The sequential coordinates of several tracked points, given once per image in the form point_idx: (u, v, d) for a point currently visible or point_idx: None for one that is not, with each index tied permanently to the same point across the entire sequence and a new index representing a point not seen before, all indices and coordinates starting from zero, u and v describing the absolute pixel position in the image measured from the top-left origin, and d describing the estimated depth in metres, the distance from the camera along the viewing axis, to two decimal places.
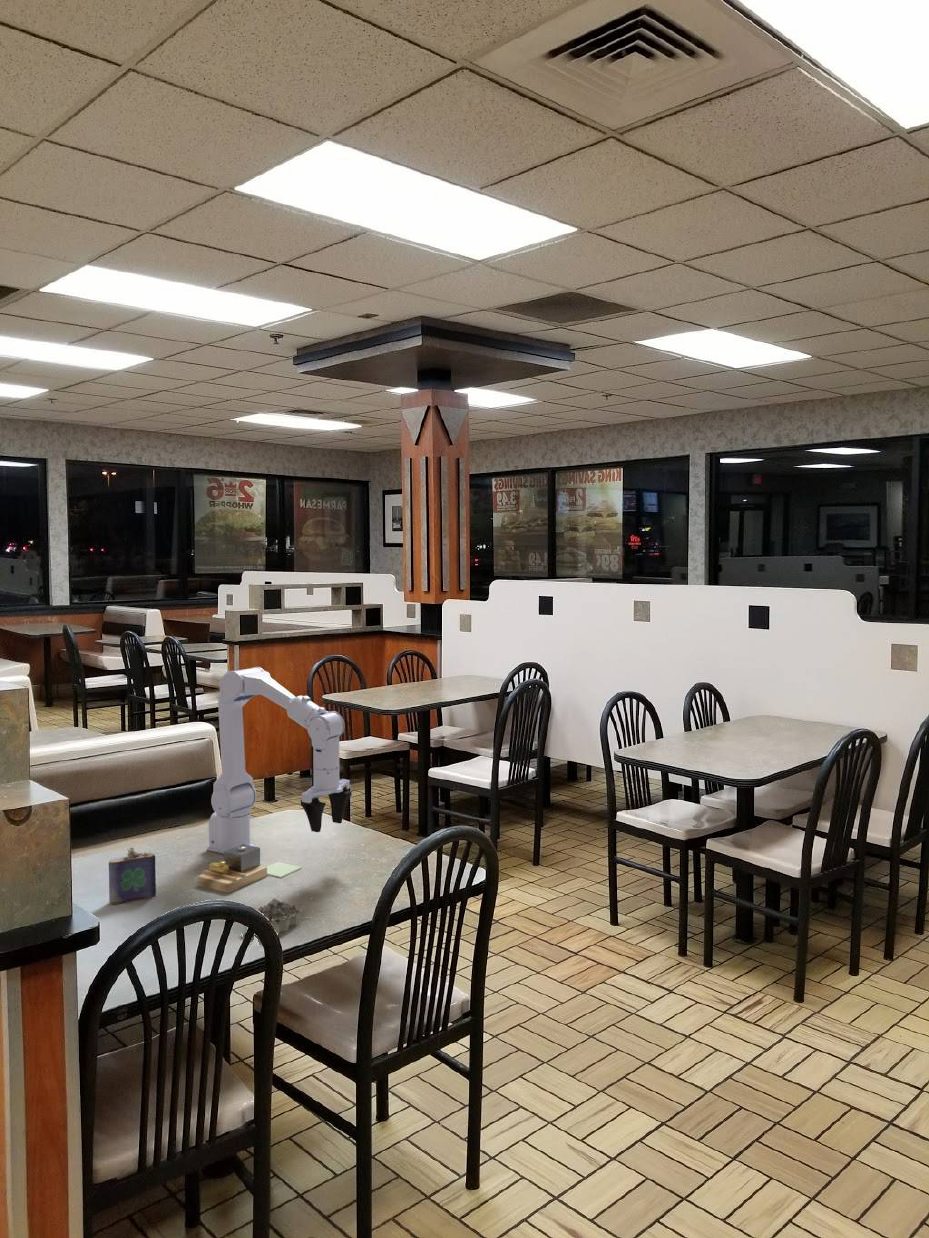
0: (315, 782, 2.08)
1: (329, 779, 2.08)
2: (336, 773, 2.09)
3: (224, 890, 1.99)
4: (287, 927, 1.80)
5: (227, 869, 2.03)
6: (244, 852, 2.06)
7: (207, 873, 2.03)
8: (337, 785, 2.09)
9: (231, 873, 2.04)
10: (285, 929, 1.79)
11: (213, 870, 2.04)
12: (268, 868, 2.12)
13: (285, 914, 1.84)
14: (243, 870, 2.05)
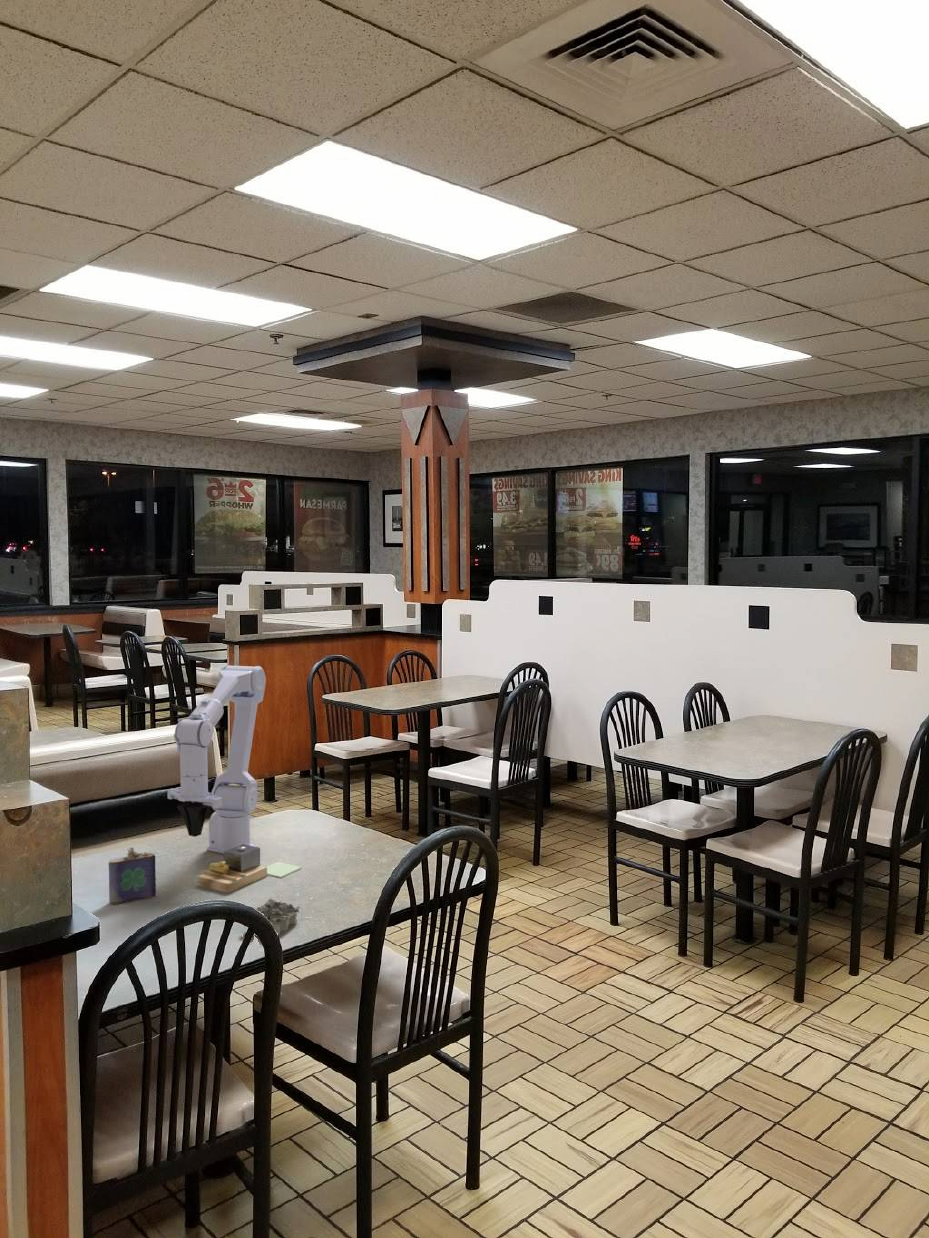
0: None
1: None
2: (184, 781, 2.03)
3: (224, 890, 1.99)
4: (287, 926, 1.80)
5: (227, 869, 2.03)
6: (244, 852, 2.06)
7: (207, 873, 2.03)
8: (185, 794, 2.03)
9: (231, 873, 2.04)
10: (285, 928, 1.80)
11: (213, 870, 2.04)
12: (268, 868, 2.12)
13: (282, 914, 1.85)
14: (243, 870, 2.05)
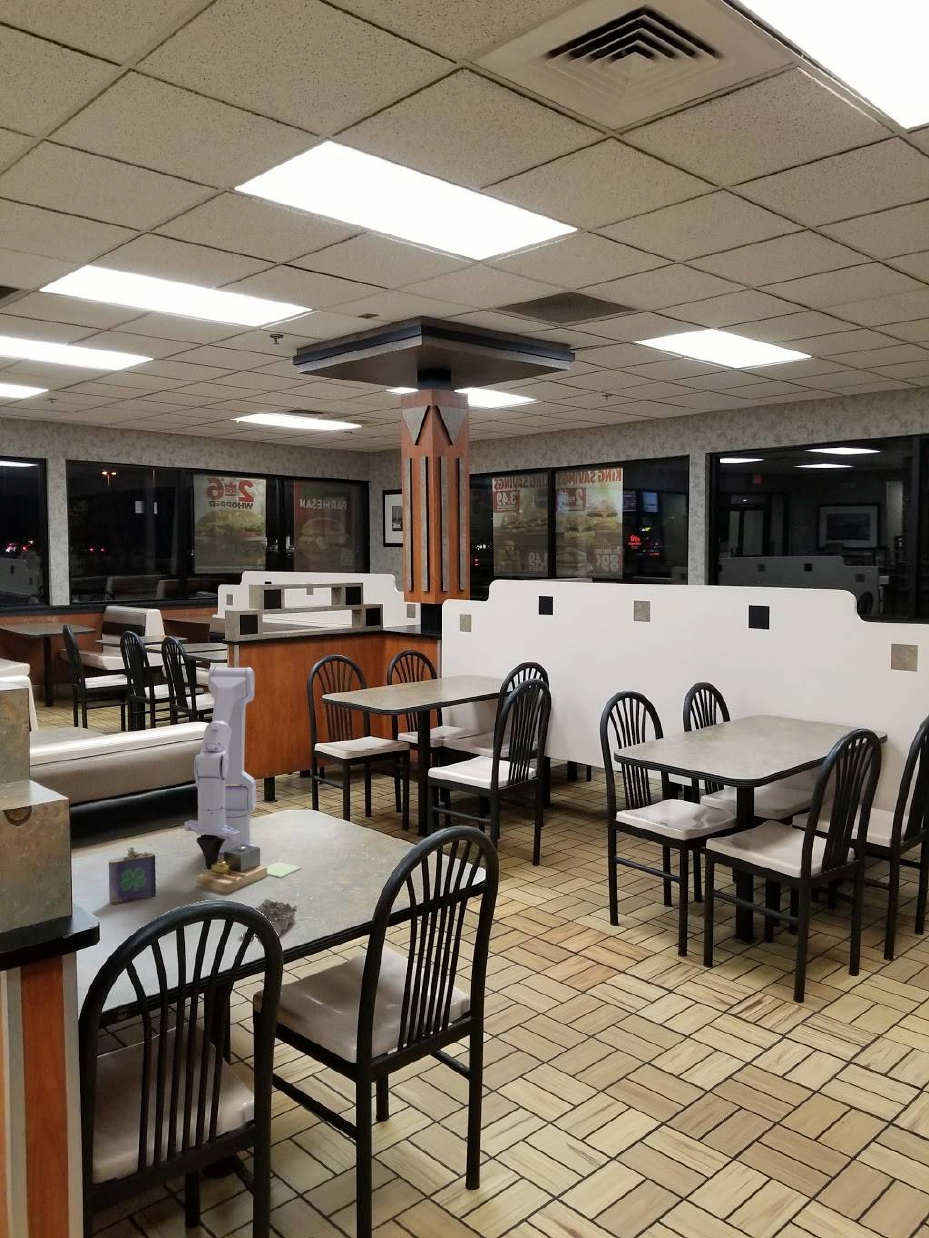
0: None
1: (198, 817, 2.03)
2: (201, 814, 2.01)
3: (224, 890, 1.99)
4: (286, 926, 1.80)
5: (227, 869, 2.03)
6: (244, 852, 2.06)
7: (207, 873, 2.03)
8: (203, 827, 2.01)
9: (231, 873, 2.04)
10: (285, 928, 1.80)
11: (213, 870, 2.03)
12: (268, 868, 2.12)
13: None
14: (243, 870, 2.05)
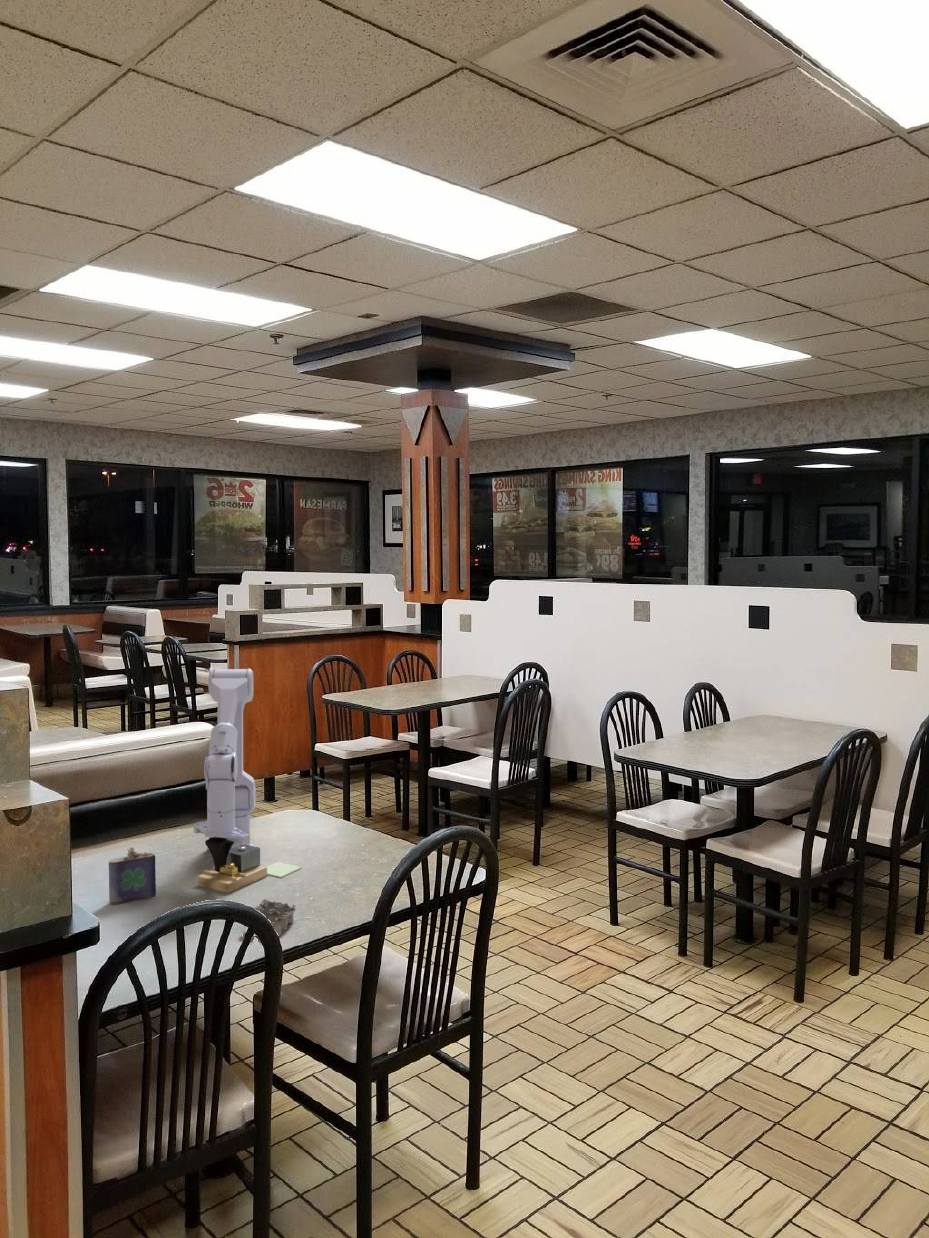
0: None
1: (207, 819, 2.01)
2: (211, 817, 2.00)
3: (224, 890, 1.99)
4: (286, 925, 1.80)
5: (236, 872, 2.02)
6: (244, 852, 2.06)
7: (207, 873, 2.03)
8: (212, 830, 2.00)
9: None
10: (284, 927, 1.80)
11: (222, 872, 2.02)
12: (268, 868, 2.12)
13: None
14: (243, 870, 2.05)
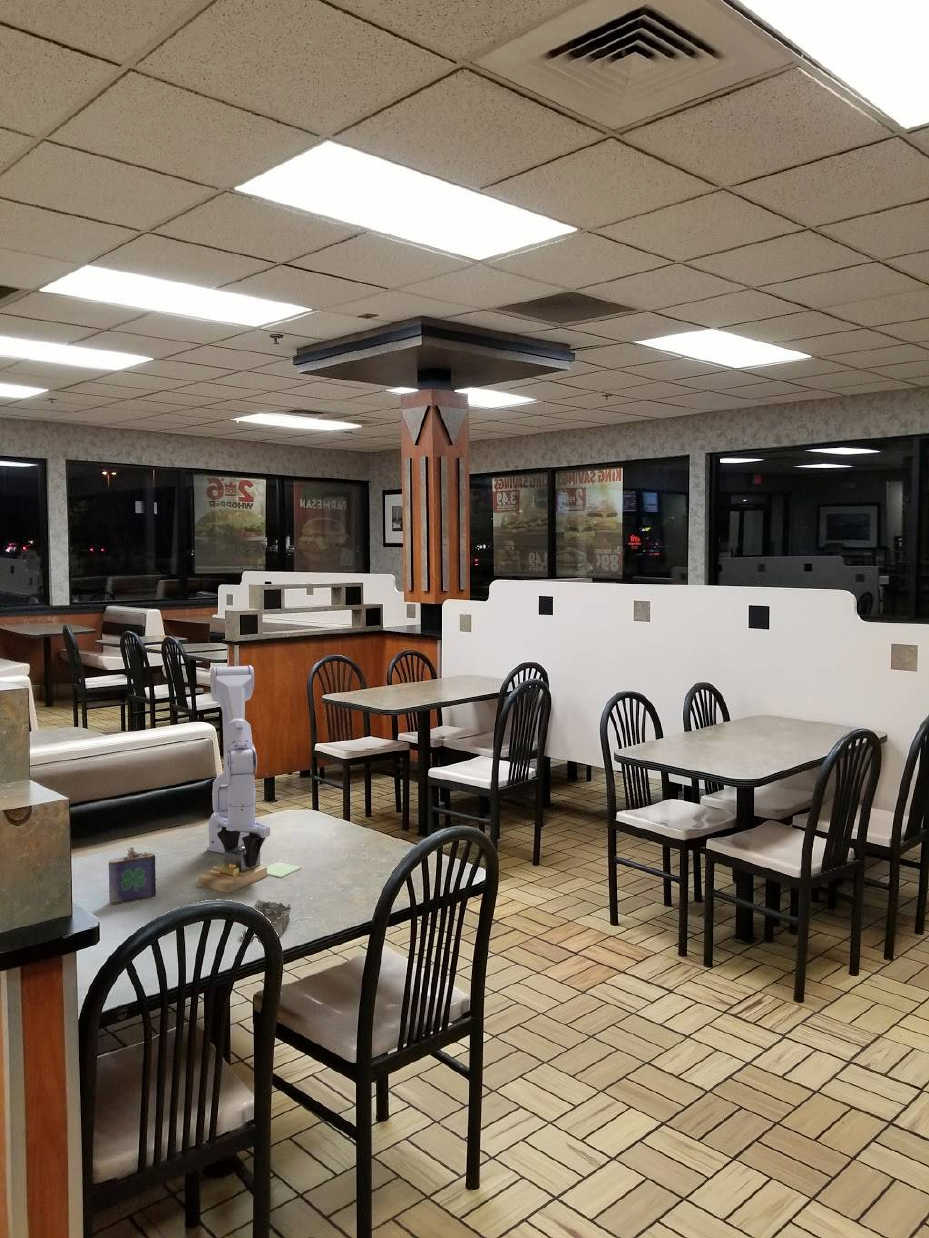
0: None
1: (228, 813, 2.06)
2: (232, 811, 2.04)
3: (224, 890, 1.99)
4: (285, 924, 1.81)
5: (237, 872, 2.02)
6: (244, 852, 2.06)
7: (207, 873, 2.03)
8: (233, 824, 2.04)
9: None
10: (283, 927, 1.80)
11: (223, 872, 2.02)
12: (268, 868, 2.12)
13: None
14: (243, 870, 2.05)
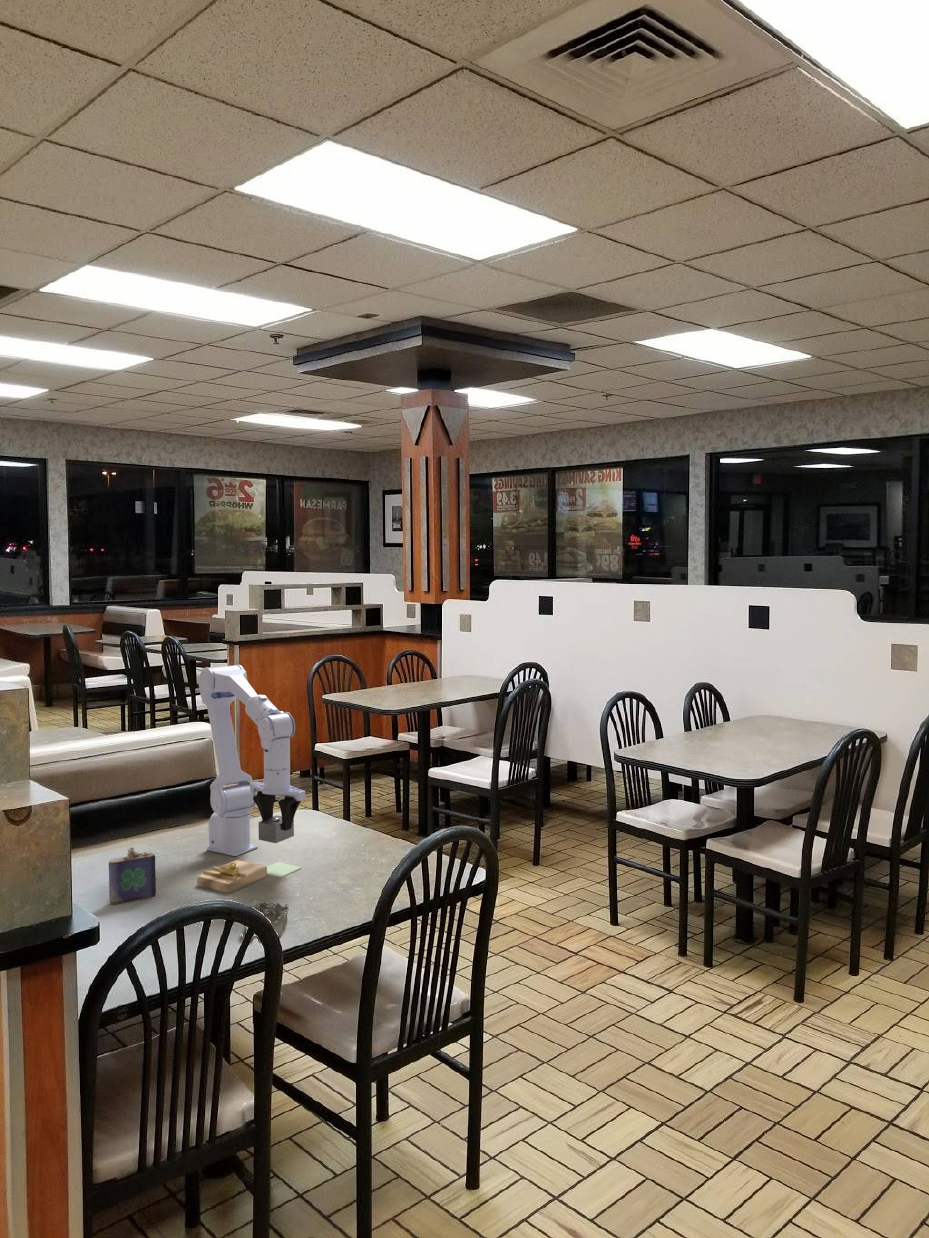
0: None
1: (264, 777, 2.09)
2: (268, 774, 2.07)
3: (224, 890, 1.99)
4: (284, 924, 1.81)
5: (237, 872, 2.02)
6: (278, 822, 2.09)
7: (207, 873, 2.03)
8: (269, 787, 2.08)
9: None
10: (283, 926, 1.81)
11: (223, 872, 2.02)
12: (268, 868, 2.12)
13: None
14: (277, 840, 2.07)
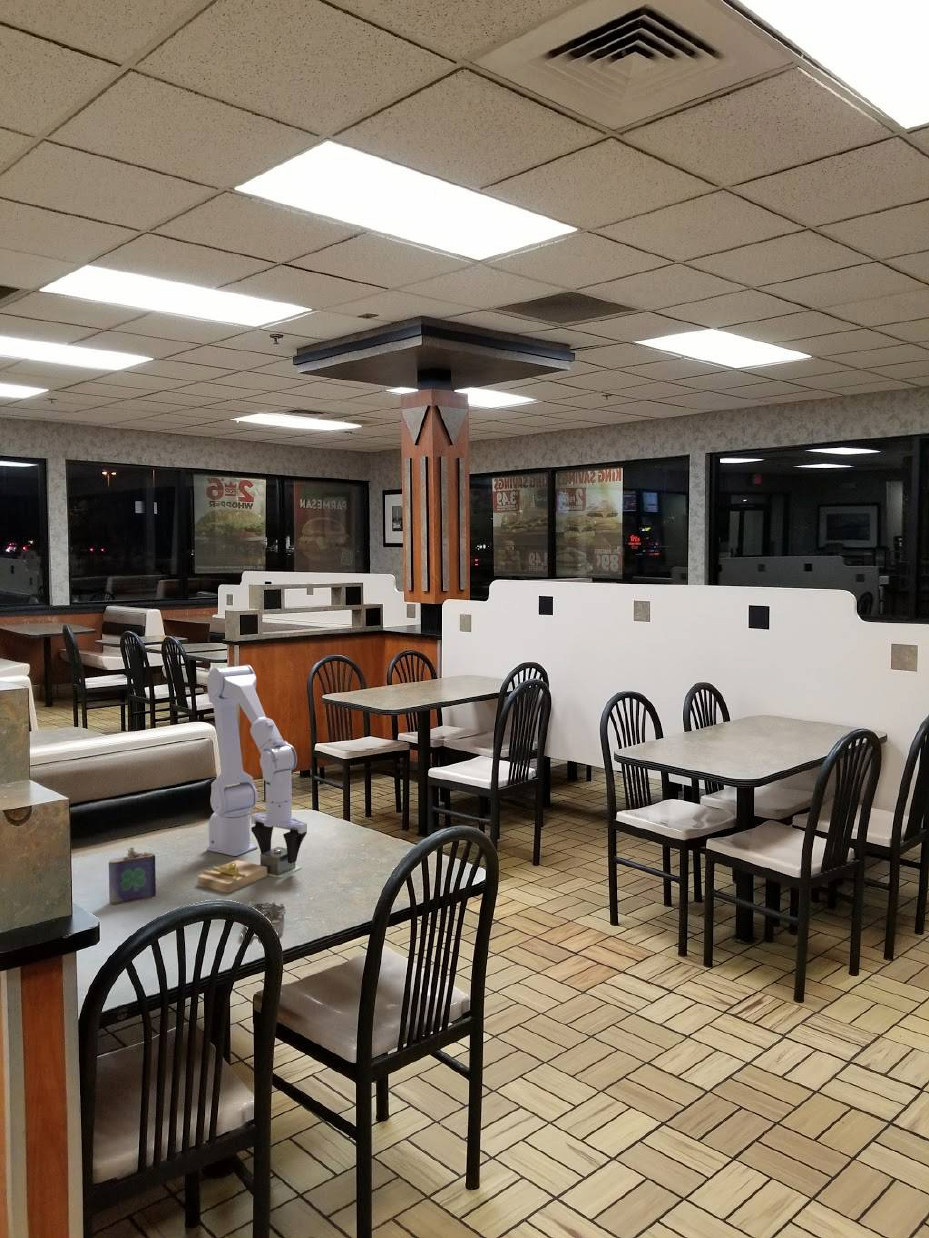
0: None
1: None
2: (270, 807, 2.08)
3: (224, 890, 1.99)
4: (283, 923, 1.81)
5: (237, 872, 2.02)
6: (280, 855, 2.09)
7: (207, 873, 2.03)
8: (271, 819, 2.08)
9: None
10: None
11: (223, 872, 2.02)
12: None
13: None
14: (279, 872, 2.08)
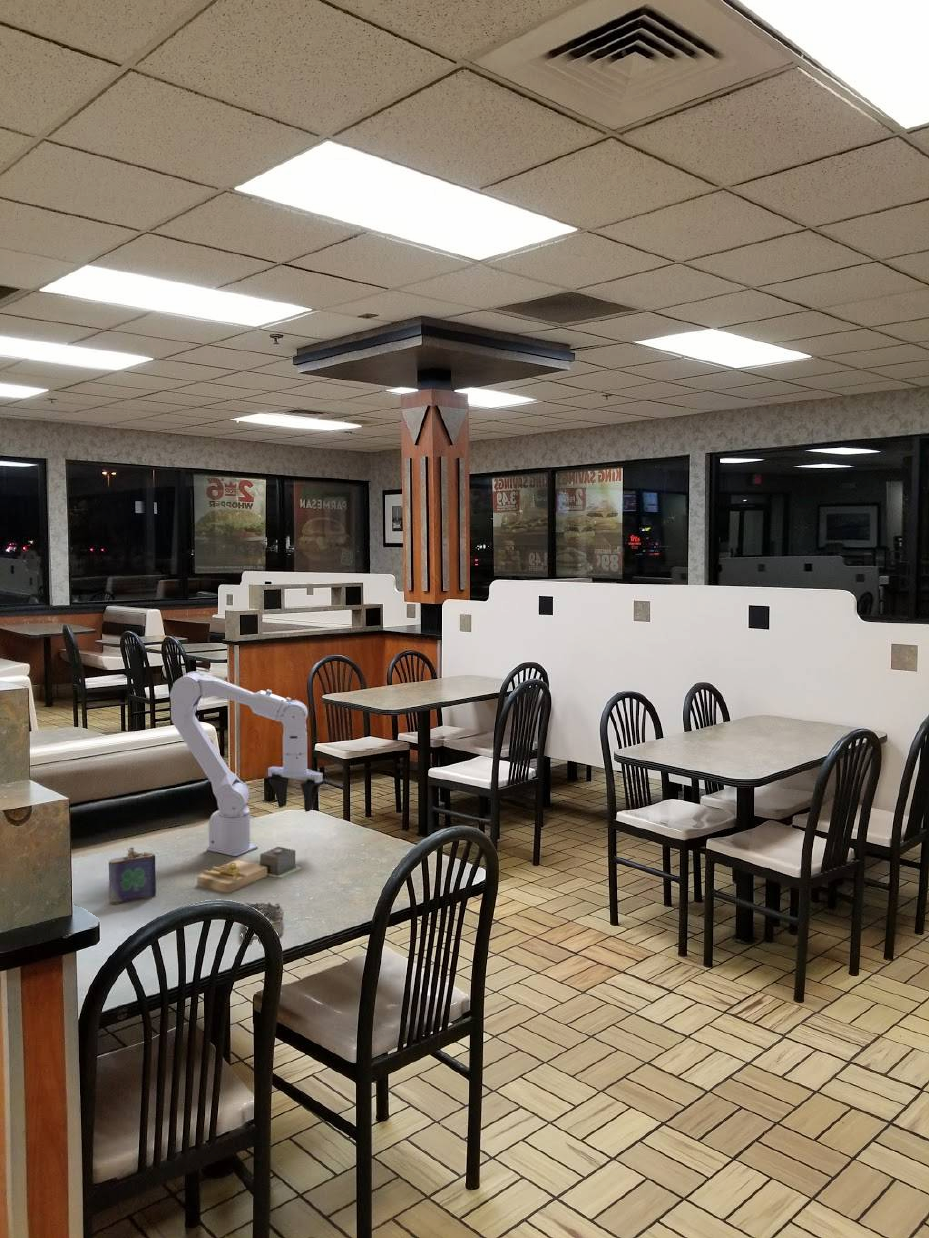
0: None
1: (283, 761, 2.24)
2: (287, 759, 2.22)
3: (224, 890, 1.99)
4: None
5: (237, 872, 2.02)
6: (280, 855, 2.09)
7: (207, 873, 2.03)
8: (289, 771, 2.22)
9: None
10: None
11: (223, 872, 2.02)
12: None
13: None
14: (279, 872, 2.08)
